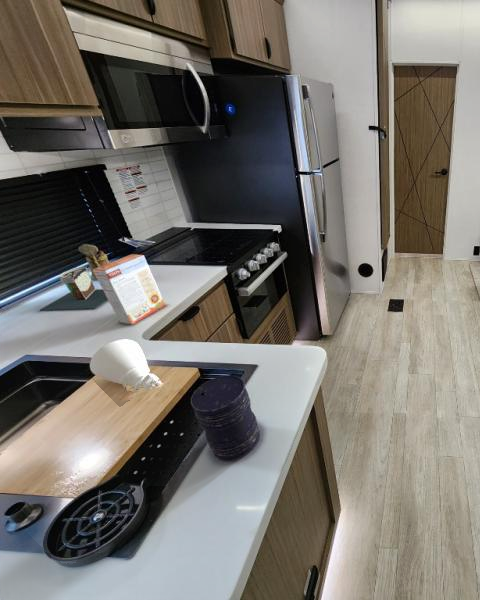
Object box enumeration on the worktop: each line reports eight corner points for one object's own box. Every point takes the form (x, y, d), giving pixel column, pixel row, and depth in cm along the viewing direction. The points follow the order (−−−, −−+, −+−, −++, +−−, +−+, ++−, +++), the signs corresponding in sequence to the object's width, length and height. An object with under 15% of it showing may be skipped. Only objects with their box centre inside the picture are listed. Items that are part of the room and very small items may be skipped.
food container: (79, 290, 138) (67, 268, 133) (97, 287, 140) (86, 266, 135) (64, 303, 128) (51, 280, 123) (84, 301, 129) (71, 278, 125)
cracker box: (153, 303, 128) (131, 253, 118) (166, 305, 126) (145, 254, 116) (118, 323, 116) (90, 268, 106) (132, 325, 115) (105, 270, 104)
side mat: (40, 310, 124) (39, 309, 124) (74, 291, 138) (74, 290, 138) (94, 309, 125) (94, 308, 125) (123, 289, 139) (123, 288, 138)
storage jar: (264, 420, 78) (250, 372, 71) (255, 457, 70) (237, 407, 62) (220, 426, 77) (200, 378, 69) (205, 465, 68) (181, 414, 61)
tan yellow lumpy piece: (90, 285, 142) (69, 246, 133) (94, 274, 152) (74, 237, 143) (115, 280, 146) (97, 241, 138) (118, 270, 156) (100, 233, 148)
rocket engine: (149, 369, 80) (109, 335, 86) (117, 412, 78) (78, 374, 84) (187, 375, 90) (149, 344, 96) (160, 413, 88) (123, 379, 94)
